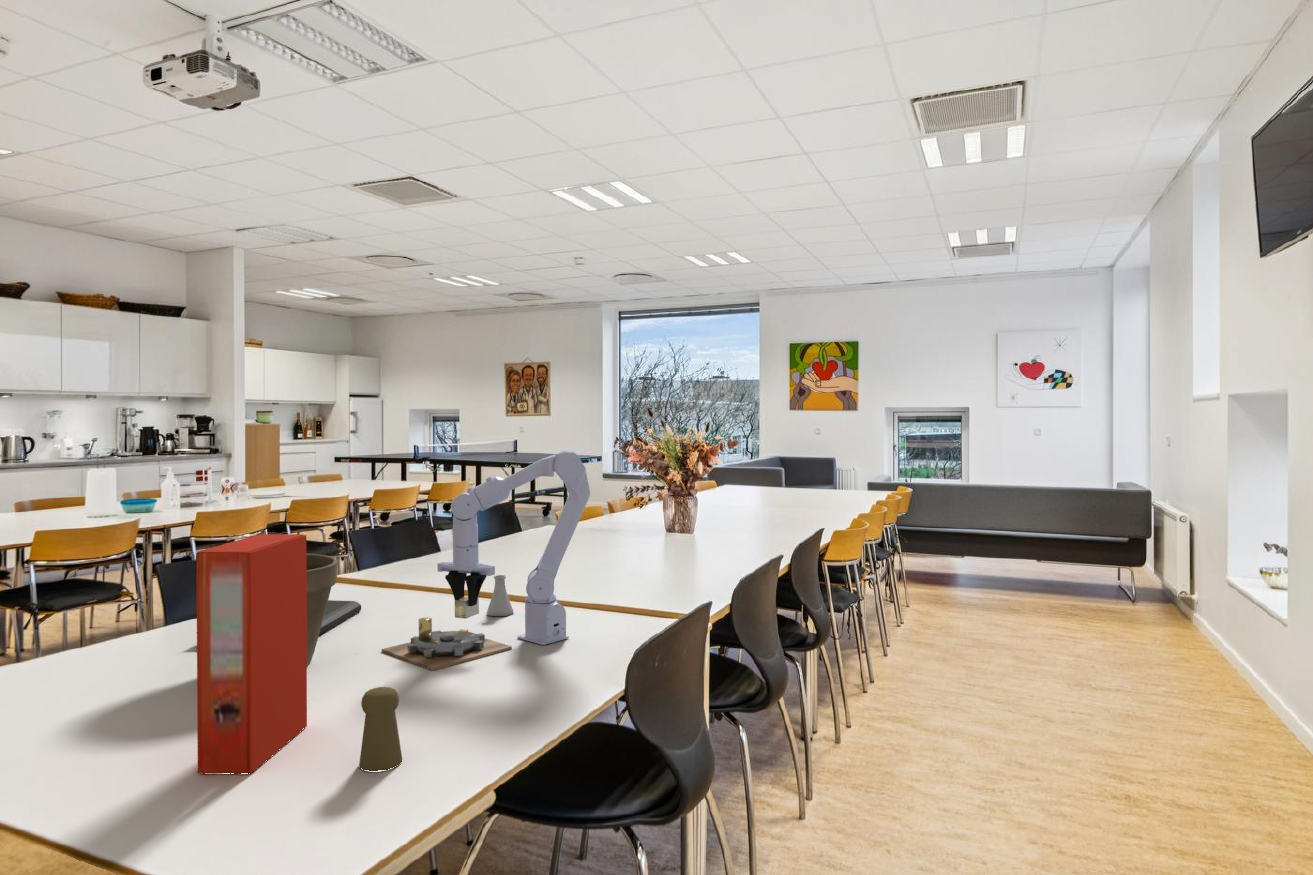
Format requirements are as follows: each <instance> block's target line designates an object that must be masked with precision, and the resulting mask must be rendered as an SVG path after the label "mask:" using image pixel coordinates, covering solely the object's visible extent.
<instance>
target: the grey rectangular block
mask: <svg viewBox="0 0 1313 875" xmlns="http://www.w3.org/2000/svg"><path fill="white" fill-rule="evenodd" d="M479 598H480V597H479V595H478V600H477V604H476V605H474V606H469V604H468V594H467V595H464V597H462V598H459V599H456V600H455V599H454V618H455V619H456V618H457V619H468V618H472V617H474V616H476V615H479V614H480V600H479Z"/></svg>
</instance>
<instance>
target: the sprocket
mask: <svg viewBox="0 0 1313 875" xmlns="http://www.w3.org/2000/svg"><path fill="white" fill-rule="evenodd" d="M485 638H486V635H485V633H483V632H481V633H480V632H479V633H475V632H470V631H469V630H468V629H459V630H448V631H447V630H446V631H441V630H435V631H433V618H432V617H425V616H424V617H420V618H418V636H416V635H414V636H413V637H411V638H410V642H411V644H408V652H409V653H415V652H417V653H419V654H423V655H424V657H429V658H432V657H434V656H447V655H454V656H461V655H463V653H465V652H469V651H472V650H474V649H475V650H481V649H482V648H484V642H485Z"/></svg>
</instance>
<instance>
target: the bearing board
mask: <svg viewBox="0 0 1313 875" xmlns="http://www.w3.org/2000/svg"><path fill="white" fill-rule="evenodd" d="M408 644H411V641H410V642H406V643H402V644H401V643H400V644H398V645H393V646H388V647H384V648H381V652H382V651H383V652H382V653H384V652H385V653H384V654H386V653H388V654H387V655H389V654H390V655H389V656H392V655H393V656H392V657H394V656H395V658H397V657H398V659H400V660H402V659H403V661H405V662H408V663H411V664H413V665H415V666H418V665H420V666H419V667H421V666H423V667H422V668H424V667H425V668H424V669H426V668H428V669H427V670H429V669H431V670H430V671H432V670H434V671H436V670H435V669H437V670H440V669H439V668H441V669H444V668H443V667H445V668H447V667H446V666H448V667H450V666H449V665H452V666H455V665H459V664H461V663H465V662H469V661H474V660H477V659H481V658H484V656H485V657H488V656H491V654H492V655H495V654H494V653H496V654H498V653H497V652H499V653H502V652H501V651H503V652H505V651H504V650H507V651H509V650H508V649H510V650H512V649H513V646H512V645H509V644H506V643H502V642H499V641H496V640H492V639H488V638H486V637H485V642H484V648H482V649H481V650H475V649H474V650H472V651H469V652H465V653H463V655H461V656H454V655H447V656H434V657H432V658H429V657H424V655H423V654H419V653H417V652H415V653H409V652H408ZM487 655H488V656H487Z"/></svg>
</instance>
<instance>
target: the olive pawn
mask: <svg viewBox="0 0 1313 875" xmlns="http://www.w3.org/2000/svg"><path fill="white" fill-rule="evenodd" d="M360 702H361V703H360V704H361V708H362V711H363V713H364V714H365V717H364V725H363V732H362V740H361V749H360V756H359V765H358V767H359V766H360V768H362V769H363V770H369V771H378V770H388V769H390V768H393V767H395V766H397V765H399V764H400V763H401V762H402V763H403V761H402V760H403V756H402V749H401V742H400V735H399V728H398V721H397V715H396V710H397V708H398V706H399V702H400V696H399V693H398V692H397V690H396V688H393V687H389V686H379V687H374V688H371V689H368V690H367V691H366V692H365V693H364V694H363V695H362V698H361V700H360ZM402 763H401V764H402ZM401 764H400V765H401ZM400 765H399V766H400ZM360 768H359V769H360Z"/></svg>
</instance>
